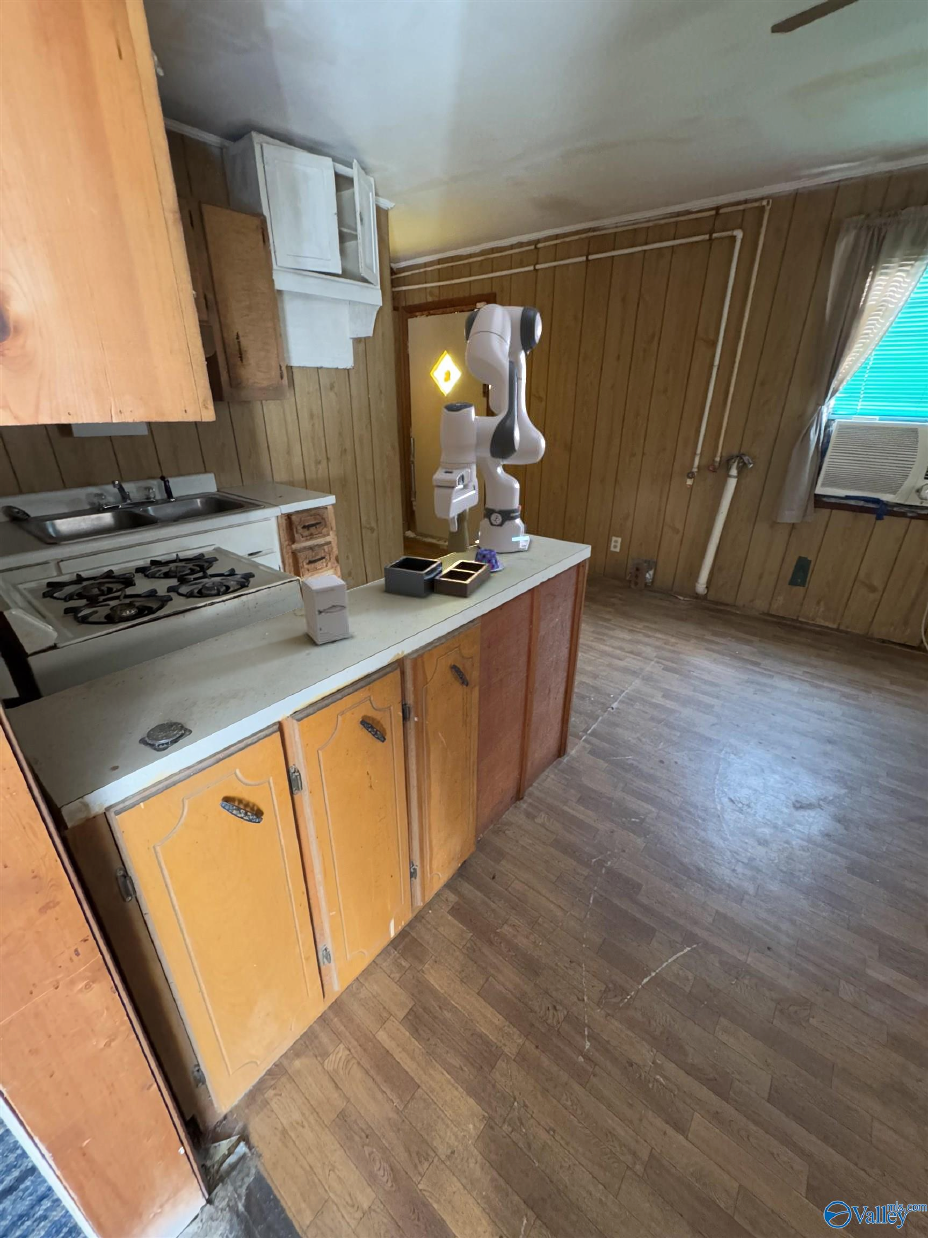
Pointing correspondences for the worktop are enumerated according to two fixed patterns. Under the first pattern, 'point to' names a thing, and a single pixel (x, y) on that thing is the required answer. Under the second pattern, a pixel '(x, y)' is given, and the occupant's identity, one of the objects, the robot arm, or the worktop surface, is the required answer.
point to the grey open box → (412, 576)
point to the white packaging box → (326, 608)
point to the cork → (459, 535)
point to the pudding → (489, 559)
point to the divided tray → (462, 578)
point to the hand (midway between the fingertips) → (458, 528)
